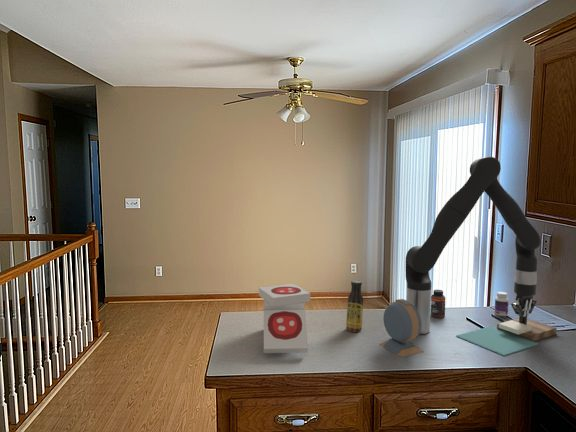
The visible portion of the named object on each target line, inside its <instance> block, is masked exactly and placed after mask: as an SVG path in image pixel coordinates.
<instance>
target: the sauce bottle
mask: <svg viewBox="0 0 576 432" xmlns="http://www.w3.org/2000/svg"><path fill="white" fill-rule="evenodd" d="M350 284H351V290H350V293H349V294H348V296H347V303H346V304H347V306H346V319H345V320H346V325H345V326H346V327H345V328H346V329H345V330H347V331H348V332H351V333H359V332H361V331H362V327H363V315H364V314H363V311H364V298H363V295H362V284H363V282H362V280H356V279H354V280H353V279H352V280H351V282H350Z"/></svg>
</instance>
